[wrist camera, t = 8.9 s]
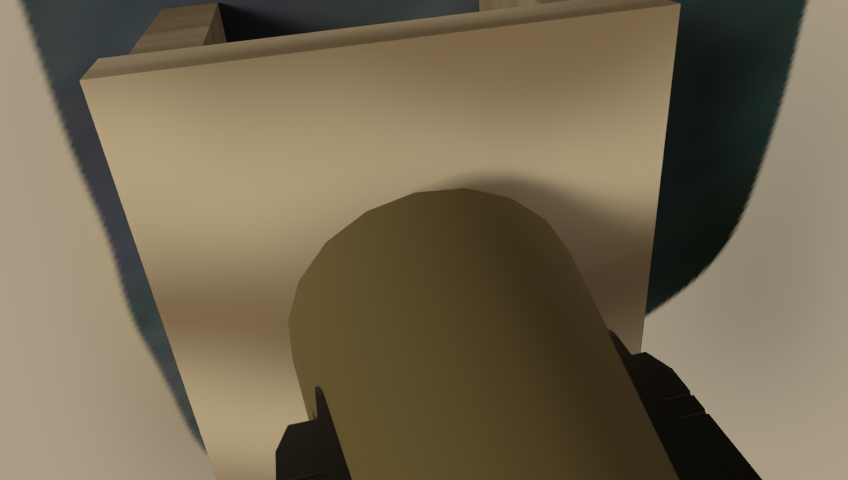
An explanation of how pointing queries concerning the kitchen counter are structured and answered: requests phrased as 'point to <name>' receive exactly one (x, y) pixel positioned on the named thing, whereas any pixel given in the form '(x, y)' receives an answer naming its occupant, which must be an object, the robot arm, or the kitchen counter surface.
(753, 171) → the kitchen counter surface
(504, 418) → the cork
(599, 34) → the birch stool
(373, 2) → the kitchen counter surface
